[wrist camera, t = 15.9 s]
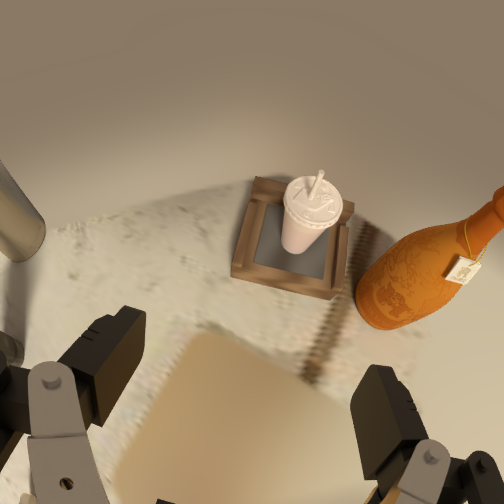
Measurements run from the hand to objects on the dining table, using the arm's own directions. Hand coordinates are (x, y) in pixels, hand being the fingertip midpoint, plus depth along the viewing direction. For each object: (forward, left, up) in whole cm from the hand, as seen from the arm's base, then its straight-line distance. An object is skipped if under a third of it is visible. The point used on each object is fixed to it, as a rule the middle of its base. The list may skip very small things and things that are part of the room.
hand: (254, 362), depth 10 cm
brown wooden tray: (+4, +20, -29) cm, 35 cm away
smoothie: (+4, +19, -25) cm, 31 cm away
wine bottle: (+19, +15, -29) cm, 38 cm away
